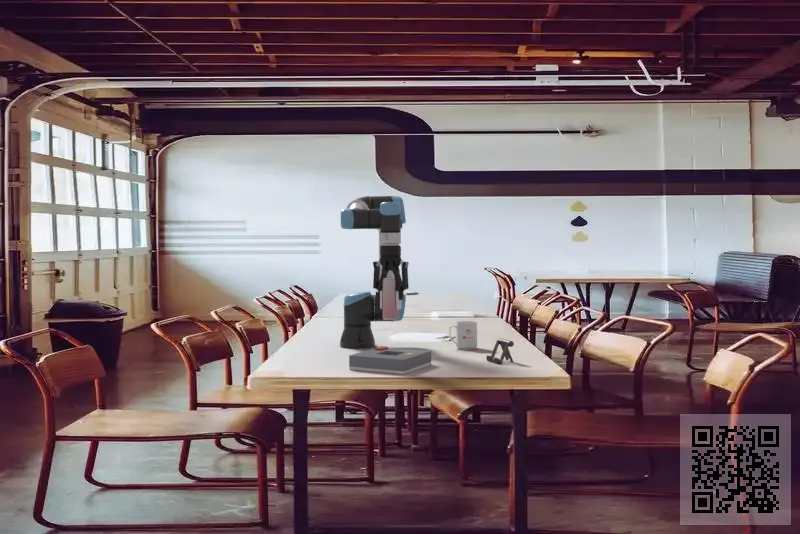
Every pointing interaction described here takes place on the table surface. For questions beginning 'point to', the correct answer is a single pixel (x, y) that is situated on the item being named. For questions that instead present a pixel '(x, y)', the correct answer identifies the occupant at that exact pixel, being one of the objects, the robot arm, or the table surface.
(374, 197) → the robot arm
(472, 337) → the mug
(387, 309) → the beverage can
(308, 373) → the table surface
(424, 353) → the socket
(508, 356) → the portable electronic device stand
